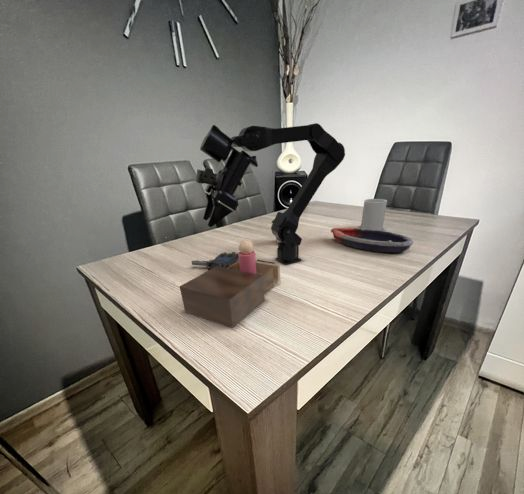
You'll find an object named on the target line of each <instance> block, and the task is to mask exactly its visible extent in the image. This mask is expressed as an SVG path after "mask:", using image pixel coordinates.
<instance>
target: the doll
mask: <svg viewBox="0 0 524 494" xmlns="http://www.w3.org/2000/svg"><path fill="white" fill-rule="evenodd" d="M238 250H239V252H238V253H237V254H238V257H239V267H240V271H244V272H249V273H254V274H256V261H257V259H256V252H255V251H254V243H253V242H252V241H251V240H250V239H243V240H241V241H240V243H239V245H238Z"/></svg>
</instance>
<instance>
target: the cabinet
mask: <svg viewBox="0 0 524 494" xmlns="http://www.w3.org/2000/svg"><path fill="white" fill-rule="evenodd" d="M179 291H180V295H181V300H182V304H183V308H184V312H185V313H186V314H189V315H192V316H196V317H199V318H201V319H204V320H207V321H210V322H214V323H217V324H219V325H222V326H225V327H228V328H231V329H234V328H235V327H236V326H237V325H238V324H240V323H241V322H242V321H243V320H244V319H245V318H246V317H248V316H249V315H250V314H251V313H252V312H253V311H255V310H256V309H257V308H258V307H260V306H261V304H263V303H264V302H265V300H266V299H265V292H264V280H263V275H258V274H254V273H249V272H244V271H239V270H234V269H229V268H227V267H225V268H224V267H219V266H216V267H214V268H213V269H211V268H210V270H209V271H208V270H207V271H205V272H204V273H201V274H199V275H198V276H196V277H194V278H192V279H190V280H189V281H186V282H185V283H183V284H181V285H180V286H179Z"/></svg>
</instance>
